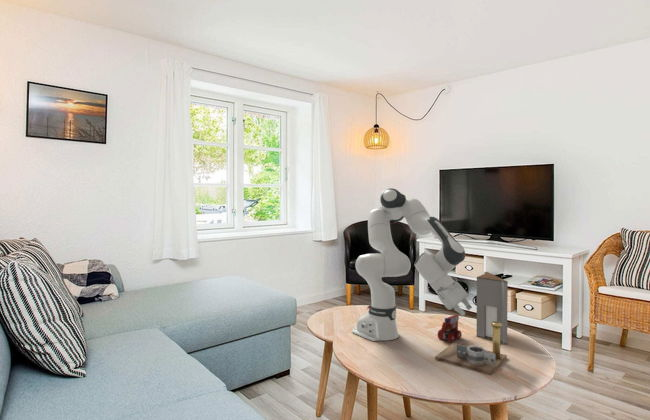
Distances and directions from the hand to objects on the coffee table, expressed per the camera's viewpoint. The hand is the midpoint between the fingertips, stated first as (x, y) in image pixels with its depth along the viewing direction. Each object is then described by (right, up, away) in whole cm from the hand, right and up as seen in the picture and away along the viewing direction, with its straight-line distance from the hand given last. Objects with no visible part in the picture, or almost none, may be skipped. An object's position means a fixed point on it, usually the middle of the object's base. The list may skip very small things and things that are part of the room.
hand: (467, 311), depth 163 cm
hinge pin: (+9, -17, -6) cm, 20 cm away
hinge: (0, -17, -10) cm, 20 cm away
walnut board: (0, -18, -4) cm, 18 cm away
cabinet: (+16, -17, +21) cm, 31 cm away
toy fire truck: (-2, -17, +18) cm, 25 cm away
